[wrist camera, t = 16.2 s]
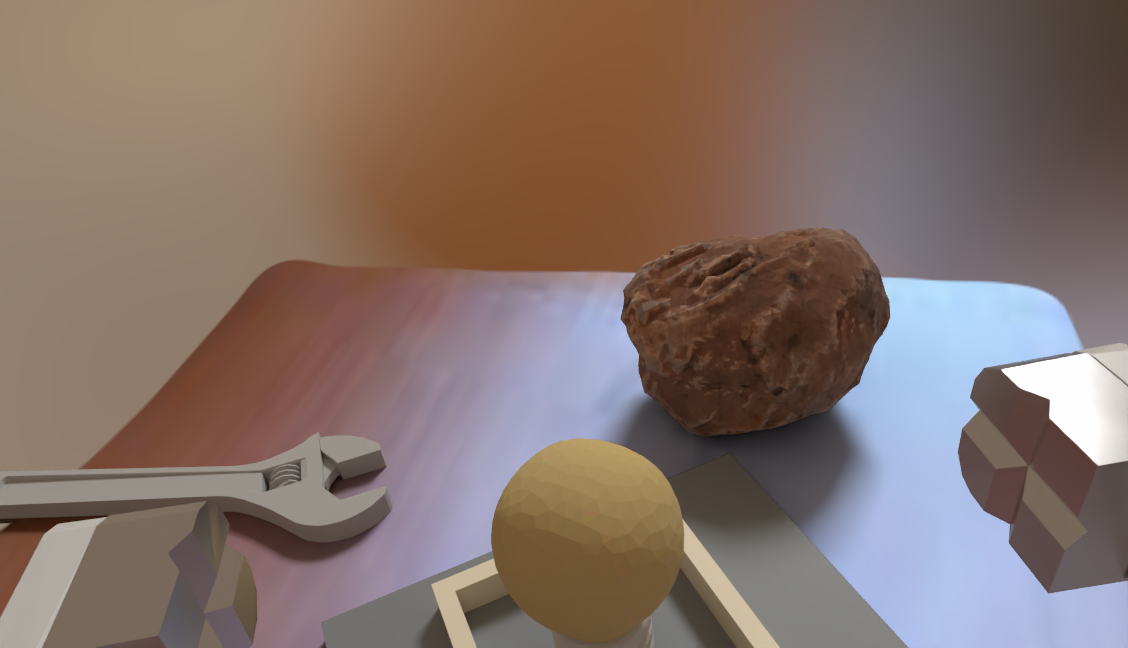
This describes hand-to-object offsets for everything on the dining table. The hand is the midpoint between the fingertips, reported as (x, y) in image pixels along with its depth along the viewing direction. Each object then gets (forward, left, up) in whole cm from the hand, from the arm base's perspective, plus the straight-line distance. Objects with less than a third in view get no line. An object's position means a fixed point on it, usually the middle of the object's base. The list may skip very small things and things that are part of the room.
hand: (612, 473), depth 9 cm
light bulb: (+3, +12, -22) cm, 25 cm away
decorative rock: (+17, +23, -23) cm, 37 cm away
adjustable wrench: (-13, +32, -23) cm, 41 cm away
